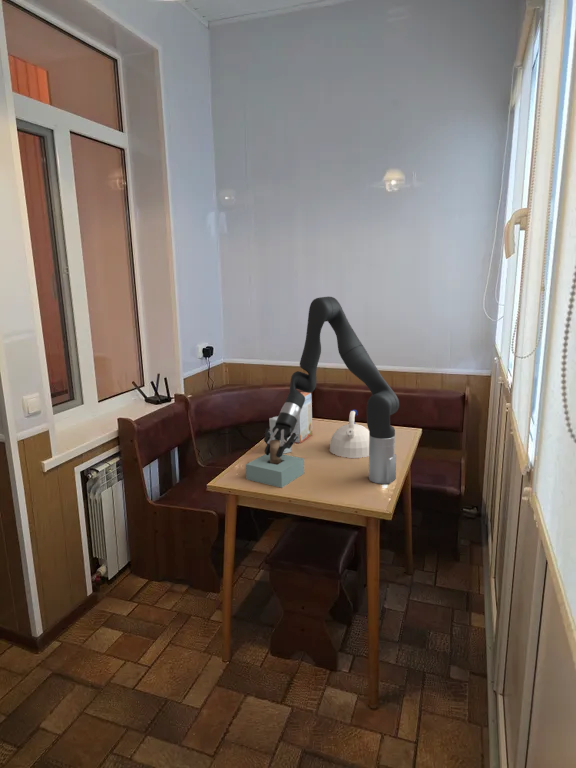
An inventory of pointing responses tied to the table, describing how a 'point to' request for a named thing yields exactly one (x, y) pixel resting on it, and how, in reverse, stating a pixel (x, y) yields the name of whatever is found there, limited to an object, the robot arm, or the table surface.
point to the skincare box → (272, 425)
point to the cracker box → (304, 420)
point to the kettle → (350, 439)
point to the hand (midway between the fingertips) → (272, 455)
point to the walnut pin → (274, 452)
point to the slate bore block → (275, 470)
